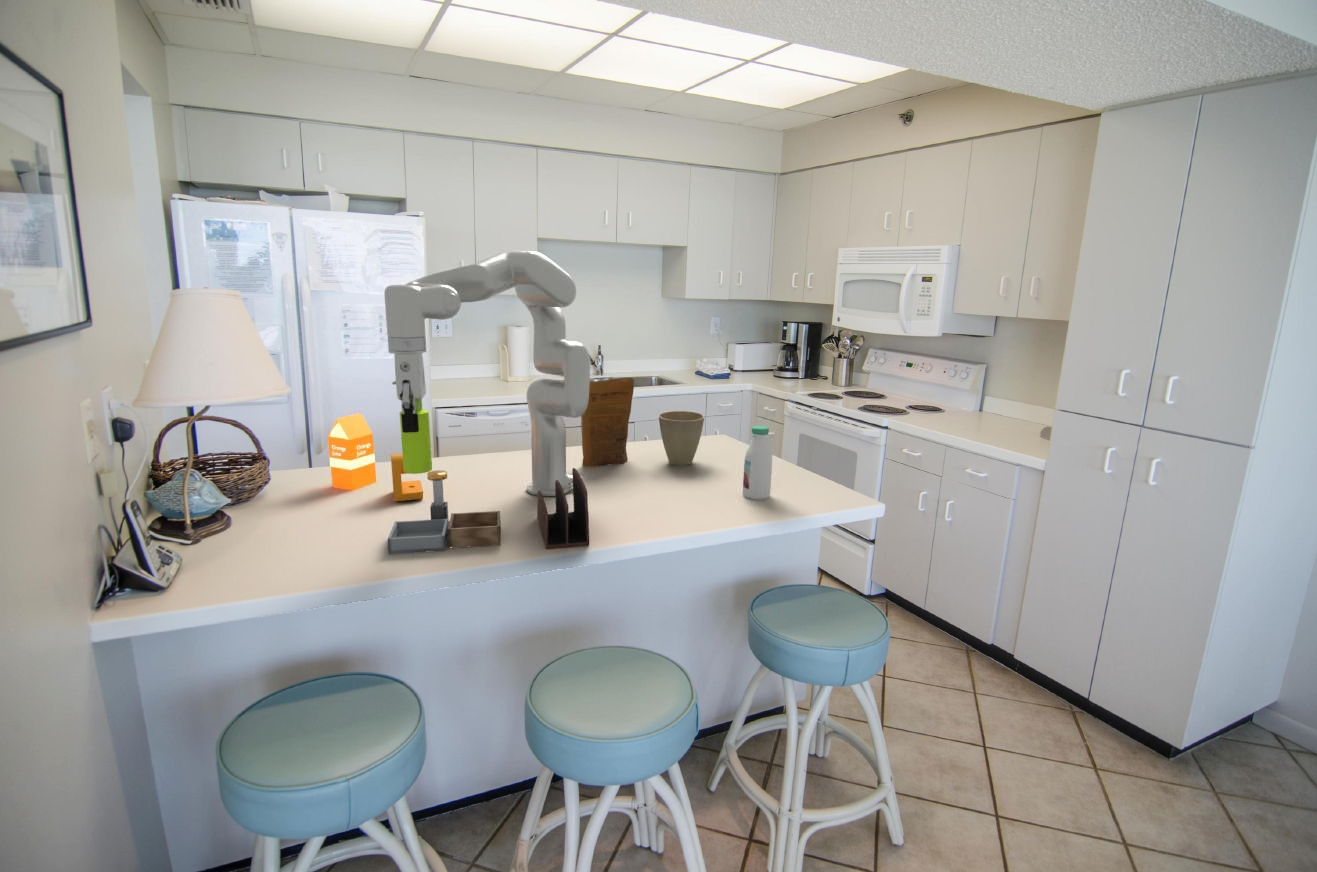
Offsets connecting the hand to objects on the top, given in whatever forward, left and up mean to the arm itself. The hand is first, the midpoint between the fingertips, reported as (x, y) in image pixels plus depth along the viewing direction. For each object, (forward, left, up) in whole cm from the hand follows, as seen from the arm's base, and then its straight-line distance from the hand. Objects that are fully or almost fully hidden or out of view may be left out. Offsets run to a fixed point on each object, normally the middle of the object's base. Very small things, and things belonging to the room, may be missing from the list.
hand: (412, 427), depth 146 cm
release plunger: (-4, -8, -26) cm, 27 cm away
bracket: (+7, -34, -27) cm, 44 cm away
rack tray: (0, 0, -27) cm, 27 cm away
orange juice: (+23, -47, -27) cm, 59 cm away
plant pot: (-75, -56, -27) cm, 98 cm away
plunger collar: (-4, -8, -27) cm, 28 cm away
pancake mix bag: (-51, -58, -27) cm, 82 cm away
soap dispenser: (0, 0, -10) cm, 10 cm away
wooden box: (-12, -1, -27) cm, 29 cm away
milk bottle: (-88, -20, -27) cm, 94 cm away
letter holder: (-32, -2, -27) cm, 42 cm away
